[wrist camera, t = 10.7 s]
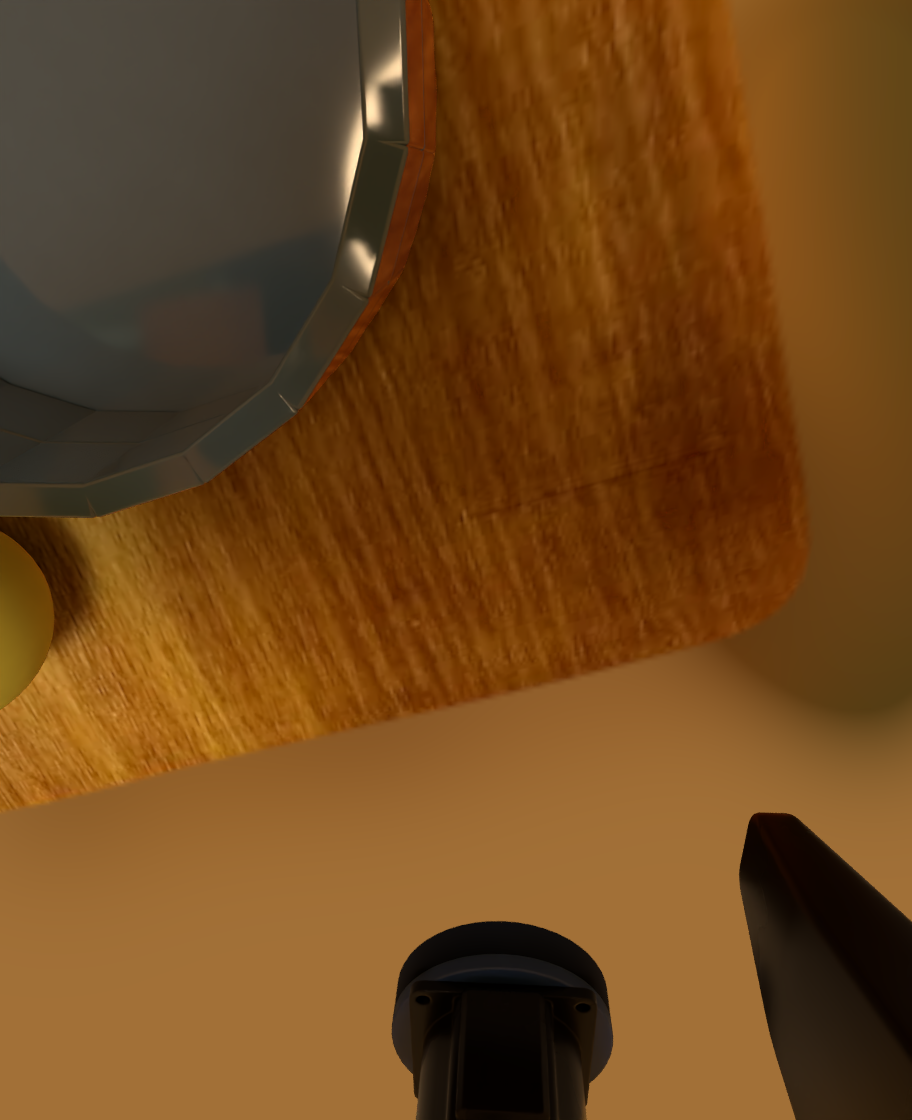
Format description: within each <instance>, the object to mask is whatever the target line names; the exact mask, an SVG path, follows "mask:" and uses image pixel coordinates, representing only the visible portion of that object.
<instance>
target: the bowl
mask: <svg viewBox="0 0 912 1120" xmlns="http://www.w3.org/2000/svg"><path fill="white" fill-rule="evenodd" d="M432 17H433V14H432V11H431V7H430V4H429V0H0V516H2V517H70V518H94V517H96V516H97V517H103V516H106V515H109V514H112V513H116V512H119V511H122V510H125V509H128V508H131V507H135V506H138V505H141V504H144V503H147V502H150V501H154V500H157V499H160V498H163V497H166V496H169V495H173V494H176V493H179V492H182V491H185V490H189V489H192V488H195V487H198V486H201V485H203V484H204V483H207V482H209V481H211V480H212V479H213V478H215V477H216V476H217V475H219V474H220V473H221V472H222V471H224V470H225V469H226V468H228V467H229V466H230V465H232V464H233V463H234V462H235V461H237V460H238V459H239V458H241V457H242V456H243V455H245V454H246V453H247V452H248V451H250V450H251V449H252V448H254V447H255V446H256V445H258V444H259V443H260V442H261V441H263V440H264V439H265V438H267V437H268V436H269V435H271V434H272V433H273V432H274V431H276V430H277V429H278V428H280V427H281V426H282V425H284V424H285V423H286V422H287V421H289V420H290V419H291V418H293V417H294V416H295V415H297V414H298V412H299V411H300V410H301V409H302V408H303V407H304V406H305V404H306V403H307V402H308V401H309V400H310V399H311V397H312V396H313V395H314V394H315V393H316V392H317V391H318V389H319V388H320V387H321V386H322V385H323V384H324V383H325V381H326V380H327V379H328V378H329V377H330V376H331V375H332V374H333V372H334V371H335V370H336V369H337V368H338V367H339V365H340V364H341V363H342V362H343V361H344V360H345V359H346V357H347V356H348V355H349V354H350V353H351V352H352V350H353V348H354V347H355V345H356V344H357V342H358V341H359V339H360V338H361V336H362V334H363V333H364V331H365V330H366V328H367V327H368V325H369V324H370V322H371V321H372V320H373V318H374V317H375V316H376V314H377V313H378V311H379V309H380V308H381V306H382V304H383V302H384V301H385V299H386V297H387V296H388V294H389V293H390V291H391V289H392V288H393V286H394V285H395V283H396V282H397V280H398V279H399V277H400V275H401V274H402V272H403V271H404V266H405V265H406V263H407V260H408V256H409V252H410V249H411V246H412V243H413V241H414V238H415V235H416V232H417V228H418V225H419V221H420V217H421V214H422V210H423V207H424V203H425V200H426V196H427V193H428V186H429V180H430V174H431V170H432V167H433V163H434V159H435V156H434V153H435V152H436V110H437V81H436V67H435V53H434V21H433V19H432Z"/></svg>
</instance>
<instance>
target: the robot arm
mask: <svg viewBox="0 0 912 1120" xmlns="http://www.w3.org/2000/svg"><path fill="white" fill-rule="evenodd" d="M739 880H740V890H741V895H742V900H743V905H744V910H745V915H746V920H747V925H748V929H749V935H750V940H751V945H752V949H753V955H754V960H755V965H756V969H757V975H758V979H759V985H760V989H761V995H762V999H763V1004H764V1010H765V1014H766V1019H767V1023H768V1028H769V1032H770V1036H771V1039H772V1043H773V1047H774V1050H775V1054H776V1057H777V1061H778V1064H779V1067H780V1070H781V1074H782V1076H783V1080H784V1083H785V1086H786V1089H787V1093H788V1096H789V1099H790V1102H791V1105H792V1109H793V1112H794V1115H795V1118H796V1120H912V922H911V921H910V920H909V919H908V918H907V917H906V916H905V915H904V914H903V913H902V912H901V911H899V910H898V909H897V908H896V907H895V906H894V905H893V904H892V903H891V902H889V901H888V900H887V899H886V898H885V897H884V896H883V895H882V894H881V893H880V892H878V891H877V890H876V889H875V888H874V887H873V886H872V885H871V884H869V882H867V881H866V880H865V879H864V878H863V877H862V876H861V875H860V874H859V873H857V872H856V871H855V870H854V869H853V868H852V867H851V866H850V865H849V864H847V863H846V862H845V861H844V860H843V859H842V858H841V857H840V856H839V855H838V854H836V853H835V852H834V851H833V850H832V849H831V848H830V847H829V846H828V845H827V844H825V843H824V842H823V841H822V840H821V839H820V838H819V837H818V836H817V835H815V834H814V833H813V832H812V831H811V830H810V829H809V828H808V827H807V826H805V825H804V824H803V823H802V822H801V821H800V820H799V819H798V818H796V817H795V816H793V815H791V814H787V813H756V814H754V815H753V816H752V817H751V819H750V821H749V824H748V829H747V834H746V839H745V844H744V849H743V854H742V858H741V863H740V870H739ZM409 1007H410V1025H411V1044H412V1062H413V1080H414V1094H415V1097H416V1098H418V1104H417V1116H416V1120H586V1109H585V1106H586V1105H587V1098H588V1090H589V1081H590V1072H591V1063H592V1054H593V1045H594V1036H595V1027H596V1018H597V1000H596V994H595V993H594V992H593V991H592V990H590V989H588V988H580V987H559V986H538V985H517V984H495V983H474V982H453V981H432V980H420V981H416V982H414V983H413V984H412V985H411V988H410V996H409Z"/></svg>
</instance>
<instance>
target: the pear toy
mask: <svg viewBox="0 0 912 1120" xmlns="http://www.w3.org/2000/svg"><path fill="white" fill-rule="evenodd" d="M53 631H54V605H53V600H52V596H51V592H50V589H49V586H48V583H47V581H46V579H45V577H44V575H43V573H42V571H41V570H40V568H39V567H38V565H37V564H36V562H35V561H34V559H33V558H32V557H31V556H30V555H29V554H28V553H27V552H26V551H25V549H24V548H23V547H21V546H20V545H19V544H18V543H17V542H15V541H14V540H13V539H12V538H10V537H9V536H7V535H6V534H4V533H3V532H1V531H0V709H2V708H3V707H5V706H6V705H8V704H9V703H10V702H11V701H13V700H14V699H15V698H16V697H17V696H19V695H20V693H21V692H22V691H23V690H24V689H25V688H26V687H27V686H28V685H29V684H30V683H31V681H32V680H33V679H34V677H35V676H36V674H37V673H38V672H39V670H40V668H41V666H42V664H43V663H44V661H45V659H46V656H47V653H48V651H49V648H50V645H51V641H52V637H53Z"/></svg>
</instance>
